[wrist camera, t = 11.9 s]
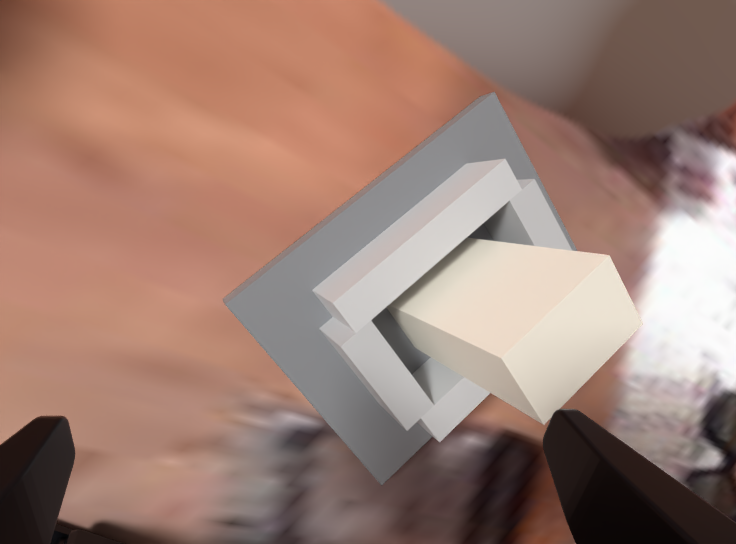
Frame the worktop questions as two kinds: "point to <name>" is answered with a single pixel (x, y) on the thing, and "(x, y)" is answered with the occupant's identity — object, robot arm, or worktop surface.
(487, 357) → the cream rectangular block
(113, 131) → the worktop surface
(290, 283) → the hinge base
